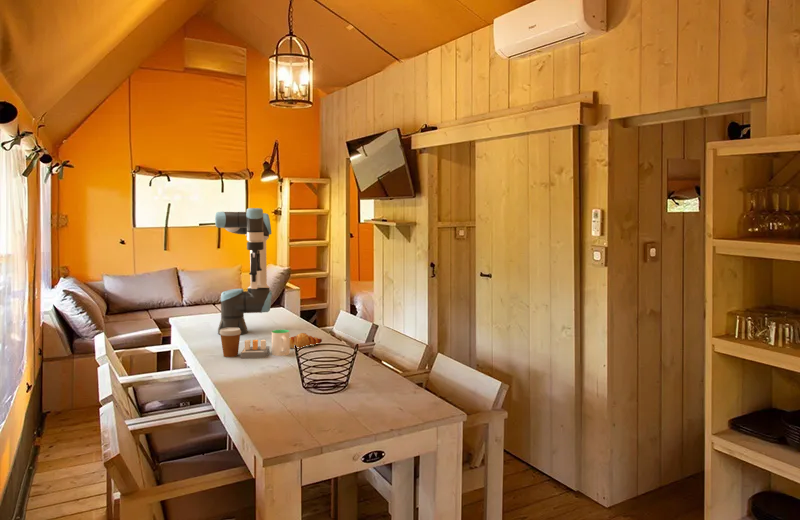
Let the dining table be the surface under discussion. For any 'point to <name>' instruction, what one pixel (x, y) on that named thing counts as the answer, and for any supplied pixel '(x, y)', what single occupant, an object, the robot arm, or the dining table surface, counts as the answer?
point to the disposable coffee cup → (230, 341)
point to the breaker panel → (255, 353)
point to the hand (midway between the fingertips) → (255, 286)
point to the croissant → (303, 340)
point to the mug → (280, 342)
